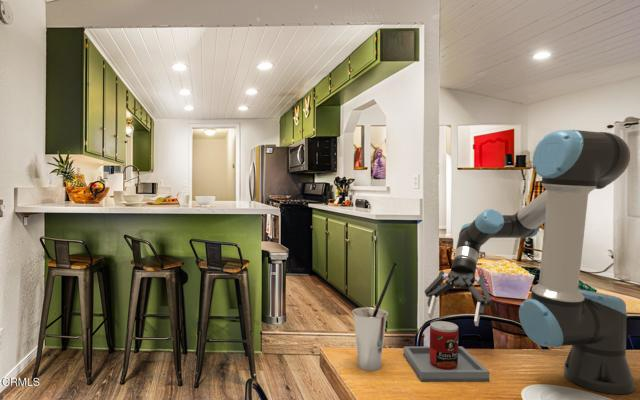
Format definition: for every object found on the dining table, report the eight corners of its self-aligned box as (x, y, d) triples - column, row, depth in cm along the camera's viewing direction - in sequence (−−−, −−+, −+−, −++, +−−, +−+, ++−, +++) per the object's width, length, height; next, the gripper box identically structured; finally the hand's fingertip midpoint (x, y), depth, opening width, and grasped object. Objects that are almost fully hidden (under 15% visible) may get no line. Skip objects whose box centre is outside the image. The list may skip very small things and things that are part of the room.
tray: (461, 354, 122) (461, 346, 122) (489, 381, 104) (489, 371, 104) (403, 354, 121) (403, 346, 121) (421, 381, 103) (421, 372, 103)
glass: (395, 375, 107) (397, 263, 107) (353, 375, 107) (355, 263, 107) (388, 359, 118) (389, 257, 118) (350, 358, 117) (351, 257, 117)
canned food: (437, 370, 108) (437, 330, 108) (424, 359, 116) (425, 321, 116) (463, 369, 109) (463, 329, 109) (449, 357, 117) (450, 320, 117)
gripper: (506, 274, 128) (498, 333, 116) (430, 266, 142) (415, 319, 129) (504, 259, 124) (495, 320, 111) (425, 253, 137) (409, 306, 125)
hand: (452, 319), depth 120 cm, fingers open, 13 cm apart
